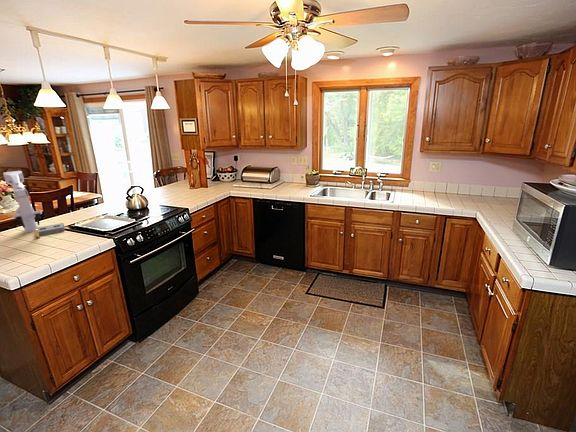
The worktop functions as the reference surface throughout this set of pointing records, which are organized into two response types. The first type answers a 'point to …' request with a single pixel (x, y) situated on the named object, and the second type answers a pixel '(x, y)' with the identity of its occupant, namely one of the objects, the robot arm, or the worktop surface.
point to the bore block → (50, 229)
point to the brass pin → (36, 233)
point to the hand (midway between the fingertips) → (31, 225)
